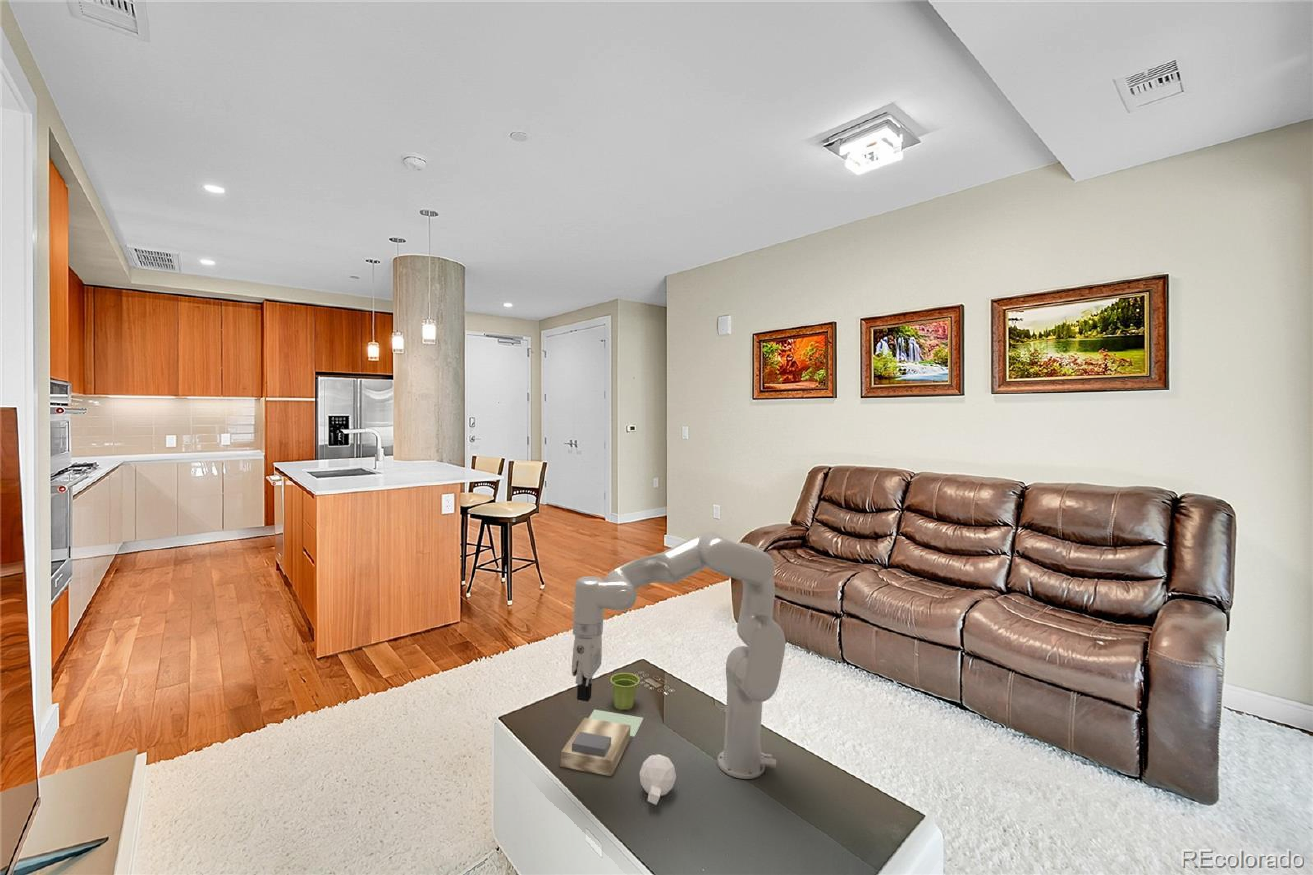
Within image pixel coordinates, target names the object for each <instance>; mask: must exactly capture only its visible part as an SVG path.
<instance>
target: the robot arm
mask: <svg viewBox="0 0 1313 875" xmlns="http://www.w3.org/2000/svg"><path fill="white" fill-rule="evenodd" d="M707 568H708V569H710V570H711V571H713V572H715V573H717V574H720V575H723V576H726V577H729V578H732V579H735V580H739V581H741V582H742V586H743V587H742V598H741V604H740V610H739V616H738V619H737V625H736V626H737V627H736V631H737V632H736V633H737V635H738V637H739V638H740V640H741V642H743V643H744V644H745V645H746V646H745V645H740V646H739V645H738V646H737V647H735V648H733V649H732V650H731V651H730V652H729V654H728V655H727V658H726V662H725V676H726V678H725V679H726V706H725V707H726V709H725V725H724V742H723V750H722V751H721V752H719V754H718V755H717V765H718V767H719V769H720V770H721V771H722V772H724V773H725V774H726V775H728V776H730V777H733V778H736V779H740V780H741V779H744V780H749V779H755V778H758V777H760V776H761V775H763V773H764V772H765V768H766V767H765V766H768V767H771V768H777V759H776V758H773V755H772V754H770V753H764V752H763V751H762V746H761V736H762V735H761V733H762V732H761V731H762V717H763V716H762V712H763V703H764V702H767V701H769V700H771V698H772V697H773V696H774V695H775V693H776V691H777V689H778V687H779V683H780V679H781V675H782V669H783V662H784V657H785V653H786V652H785V650H786V636H785V633H784V631H783V628H782V626H780V625H779V624H778V623H777V622H776V621H775V620H774V619H773V613H774V607H775V606H774V604H775V598H776V597H775V596H776V586H775V585H776V584H775V579H774V575H775V570H776V566H775V562H774V560H773V558H772V557H771V556H770V554H768V553H767V552H765V551H763V550H761V549H760V548H759V547H756V546H755V545H752V544H750V543H747V542H738V543H736V542H733V541H731V540H728V539H726V538H724V537H723V536H721V535H720V534H717V533H715V532H713V531H705V532H702V533H700V534H697V535H696V536H694V537H692V538H689V539H687V540H685V541H683V542H682V543H679V544H677V545H675V546H673V547H671V548H669V549H666V550H665V551H662V552H660V553H655V554H651V555H649V556H644V557H639V558H637V559H634V560H632V561H629V562H627V563H625V564H623V565H620V566H619V567H617V568H615V569H613V570H611V571H610V572H608V573H607V574H606V575H605V576H604V578H603V579H602V578H601V577H598V576H592V575H591V576H590V575H587V576H582V577H579V578H578V579H577V580H576V582H575V585H574V601H573V605H574V606H573V620H572V635H573V636H574V640H573V641H574V642H573V649H572V658H571V659H572V660H571V675H572V677H575V684H576V685H577V691H576V694H577V695H576V699H577V701H582V702H587V703H588V702H589V701H590V700H591V699H592V690H593V689H592V686H593V676H594V675H595V674H596V673H597V671H598V670H599V669H600V668H601V665H602V656H603V655H602V653H603V649H602V648H603V647H602V645H603V644H602V643H603V641H602V640H603V639H602V635H603V632H604V617H605V616H604V614H605V610H611V611H618V612H621V611H622V612H623V611H628V610H630V609H631V608H632V607H633V606H634V605H635V604H636V602H637V599H638V594H637V590H636V589H638V588H640V587H644V586H646V585H649V584H654V583H663V584H674V583H675V584H676V583H679V582H681V581H683V580H684V579H687V578H689V577H691V576H693V575H694V574H696V573H699V572H701V571H703V570H705V569H707Z"/></svg>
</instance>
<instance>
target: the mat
mask: <svg viewBox="0 0 1313 875" xmlns="http://www.w3.org/2000/svg"><path fill="white" fill-rule="evenodd" d="M588 718H590V719H596V720H602V721H608V722H613V723H619V724H625V725H631V728H630V738H635V737H636V735H637V733H638V732H639V731H638V730H639V729H640V726H641V725H642V722H643V721H644V717H641V716H637V715H636V716H635V715H629V714H625V713H624V714H623V713H618V712H611V711H606V710H600V709H593V711H592V713H591V714H590V716H589V717H588Z"/></svg>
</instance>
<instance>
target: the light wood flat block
mask: <svg viewBox="0 0 1313 875" xmlns="http://www.w3.org/2000/svg"><path fill="white" fill-rule="evenodd" d="M630 728H631V725H625V724H619V723H613V722H608V721H602V720H596V719H590V718H589V717H584V718H583V719H582V720H581V722H580V724H579V725H578V727H577V728H576V729H575V731H574V732H573V734H572V735H571V737H570V738H569V739H568V741H567V743H566V744H565V745H564V747H563V748H562V750H561V751H560V767H562V768H567V769H572V770H577V771H581V772H582V771H583V772H588V773H593V774H599V775H602V776H603V775H604V776H608V777H612V776H613V774H614V772H615V770H616V768H617V766H618V764H619V762H620V760H621V758H622V756H623V754H624V752H625V750H626V748H627V746H628V744H629V742H630V740H631V737H630ZM579 732H585V733H590V734H596V735H602V736H607V737H611V746H610V747H609V749H608V751H607V753H606V755H605V756H604V757H601V756H596V755H591V754H585V753H580V752H575V751H572V743H573V741H574V740H575V738H576V737H577V735H578V734H579Z"/></svg>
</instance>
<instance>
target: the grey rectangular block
mask: <svg viewBox="0 0 1313 875" xmlns="http://www.w3.org/2000/svg"><path fill="white" fill-rule="evenodd" d="M610 746H611V737H607V736H602V735H596V734H590V733H585V732H579V734H578V735H577V737H576V738H575V740H574V741H573V743H572V751H575V752H580V753H585V754H591V755H596V756H601V757H604V756H605V755H606V753H607V751H608V749H609V747H610Z"/></svg>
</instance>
